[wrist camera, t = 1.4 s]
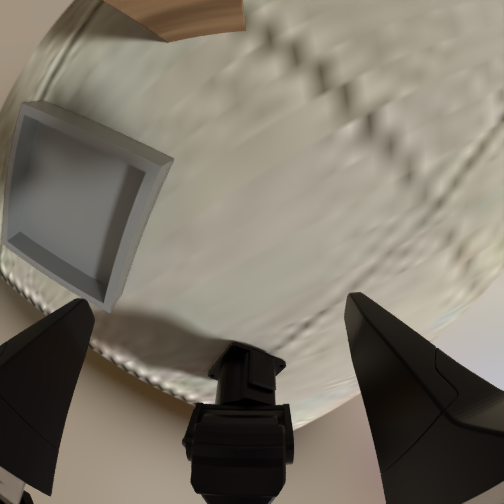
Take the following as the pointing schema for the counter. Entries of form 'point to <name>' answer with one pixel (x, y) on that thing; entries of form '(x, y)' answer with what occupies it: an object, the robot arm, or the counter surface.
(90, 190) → the box
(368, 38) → the counter surface
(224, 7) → the walnut block
